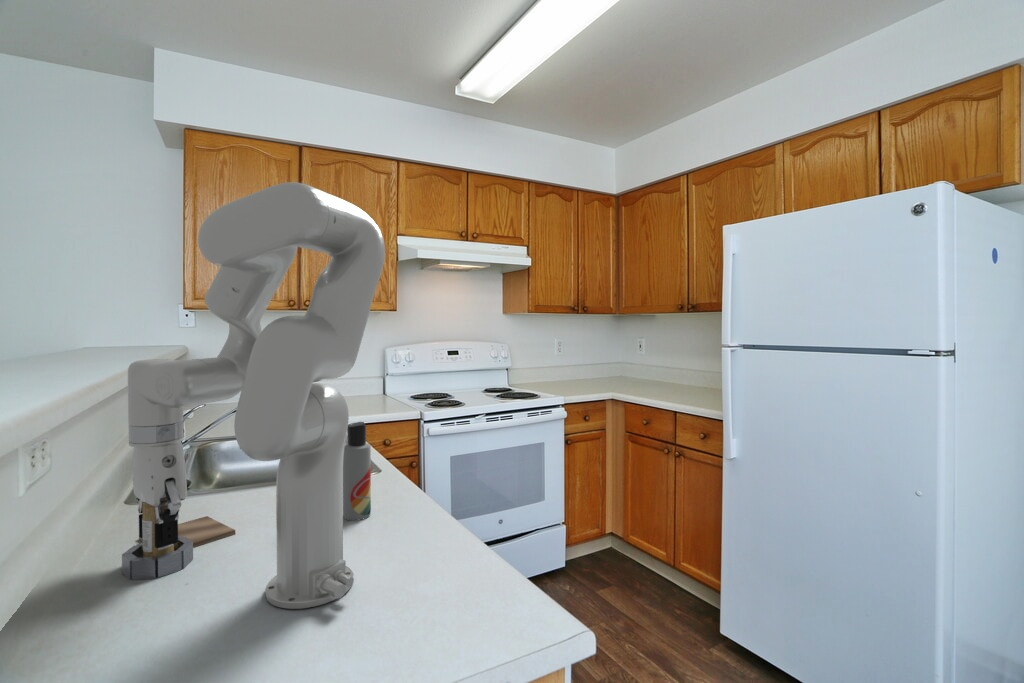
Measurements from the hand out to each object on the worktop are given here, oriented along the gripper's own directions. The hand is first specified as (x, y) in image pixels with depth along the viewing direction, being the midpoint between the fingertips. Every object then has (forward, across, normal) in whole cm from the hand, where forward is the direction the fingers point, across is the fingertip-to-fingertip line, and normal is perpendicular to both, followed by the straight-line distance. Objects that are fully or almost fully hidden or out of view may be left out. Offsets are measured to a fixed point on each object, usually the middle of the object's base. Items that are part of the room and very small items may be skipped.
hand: (158, 539), depth 85 cm
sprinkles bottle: (+5, 0, 0) cm, 5 cm away
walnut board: (+5, +9, -8) cm, 13 cm away
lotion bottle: (+5, -8, -34) cm, 35 cm away
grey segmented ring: (+5, 0, 0) cm, 5 cm away
